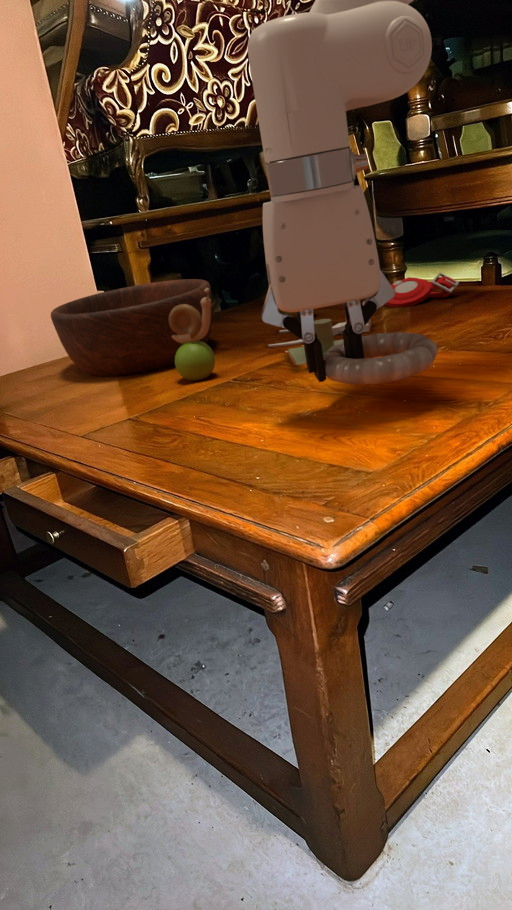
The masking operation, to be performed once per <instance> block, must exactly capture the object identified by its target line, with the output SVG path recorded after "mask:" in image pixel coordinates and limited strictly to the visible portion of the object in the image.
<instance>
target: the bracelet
mask: <svg viewBox="0 0 512 910" xmlns="http://www.w3.org/2000/svg"><path fill="white" fill-rule="evenodd" d="M362 343H363V352H364V359H351V358H346V357H345V349H344V342H342V343H339V344H336V345H334V346H332V347H331V348H330V349H329V350H328V351H327V352H326V353H324V354H323V358H324V366H325V373H326V378H327V379H329V380H330V381H332V382H337V383H341V384H346V385H352V386H353V385H356V386H357V385H379V384H385V383H391V382H395V381H400V380H404V379H405V380H406V379H408V378H411V377H413V376H415V375H417V374H420V373H422V372H424V371H426V370H428V369H429V368H430V367H431V366H432V365H433V362H435V360H436V358H437V356H438V351H439V350H438V346H437V344H436V343H435V342H434V341H433V340H432V339H430V338H428V337H427V336H425V335H424V334H421V333H415V332H402V331H397V332H382V333H373V334H368V335H364V336H362Z"/></svg>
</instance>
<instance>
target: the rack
mask: <svg viewBox="0 0 512 910" xmlns="http://www.w3.org/2000/svg"><path fill="white" fill-rule="evenodd" d="M332 323H333V322H332V319H331V318H321V319H316V320H314V331H315V333H316V334H317V338H318V339H319V341H320V342H321V345H322V351H323V354H324V353H326V352H327V351H328V350H329V349H330V348H331V347H332V346H334V345H336V344H339V343H342V342H343V338H342V339H338V340H335V339H334V336H333V330H332V327H333V324H332ZM287 353H288V357H289V359H290V360H291V362H292V364H293V365H294V366H298V365H299V366H300V365H305V364H307V363H306V356H305V350H304V345H303V346H299V347H294V348H288V349H287Z"/></svg>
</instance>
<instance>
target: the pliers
mask: <svg viewBox="0 0 512 910" xmlns="http://www.w3.org/2000/svg"><path fill="white" fill-rule="evenodd" d="M371 320H372V319H370V320H369V321H368V322H367V324H366V325H365V329H364V331H363V332H362V333H368V332H370V331H371V328H372V321H371ZM345 324H346V321H344V322H338V323H336V324H335V325H332V330H333V337H334V336H337V335H343V334H342V332H344V329H345ZM278 332H279V334H282V333H291V332H290V331H288V330H287V329H281V330H279V331H278ZM300 344H304V343H303V340H301V339H300V338H299V339H298V340H291V341H285V342H278V343H270V344H267V347H268V348H276V347H286V346H294V345H300Z"/></svg>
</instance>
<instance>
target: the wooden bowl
mask: <svg viewBox="0 0 512 910" xmlns="http://www.w3.org/2000/svg"><path fill="white" fill-rule="evenodd" d="M206 288H209V292H208V293H209V299H210V300H211V307H210V311H211V316H210V326H209V330H208V332H207V334H206V335H205V336H204V337H203V338H202V339H200V340H199V341H201V342H203V343H205V344H207V345H208V341H209V339H210V335H211V332H212V324H213V323H212V322H213V304H212V303H213V301H212V289H211V284H210V282H209V281H207V280H205V279H197V278H186V279H185V278H184V279H183V278H182V279H171V280H164V281H156V282H148V283H142V284H137V285H131V286H126V287H121V288H116V289H112V290H107V291H102V292H99V293H95V294H91V295H86V296H84V297H80V298H77V299H74V300H71V301H68V302H65V303H63V304H60V305H59V306H57V307H54V308H53V309H52V310H51V311H50V319H51V322H52V325H53V327H54V329H55V332H56V334H57V336H58V339H59V341H60V343H61V345H62V347H63V349H64V350H65V353H66V354H67V356H68V357H69V359H70V360H71V361H72V362H73V364H74V365H75V366H76V367H77V368H78V369H79V370H80V371H81V372H83V373H85V374H87V375H89V376H94V377H120V376H128V375H129V376H130V375H136V374H141V373H146V372H150V371H155V370H159V369H164V368H167V367H171V366H175V355H176V352H177V350H178V349H179V348H180V346H182V345H183V344H182V343H179V342H177V341H175V340H174V339H173V338H172V335H178V334H177V333H175V332H174V331H173V330H172V329H171V327H170V325H169V314H170V312H171V310H172V309H173V308H174V307H175V306H177V305H180V304H187V305H191V306H193V307H194V308H195V309H197V310H198V312H199V313H200V315H201V318H202V306H201V300H202V298H204V297H207V295H208V293H205V292H204V290H205V289H206Z"/></svg>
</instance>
